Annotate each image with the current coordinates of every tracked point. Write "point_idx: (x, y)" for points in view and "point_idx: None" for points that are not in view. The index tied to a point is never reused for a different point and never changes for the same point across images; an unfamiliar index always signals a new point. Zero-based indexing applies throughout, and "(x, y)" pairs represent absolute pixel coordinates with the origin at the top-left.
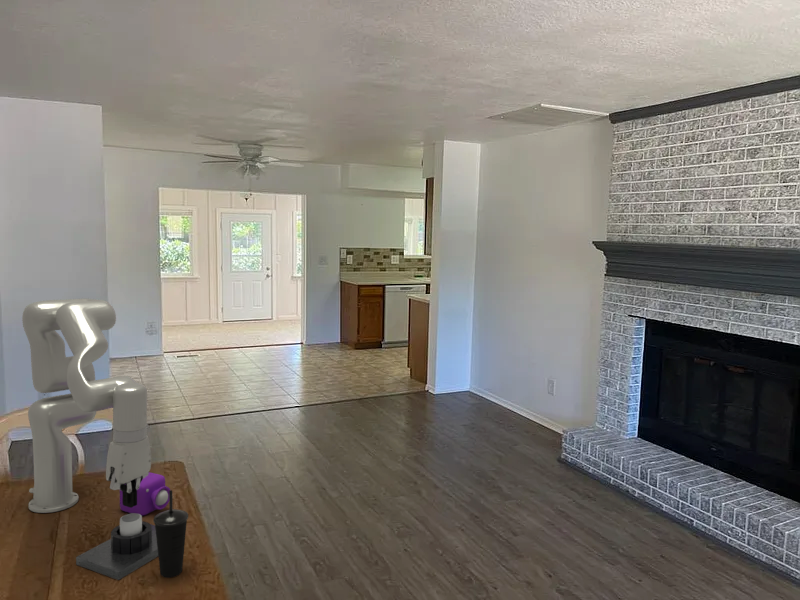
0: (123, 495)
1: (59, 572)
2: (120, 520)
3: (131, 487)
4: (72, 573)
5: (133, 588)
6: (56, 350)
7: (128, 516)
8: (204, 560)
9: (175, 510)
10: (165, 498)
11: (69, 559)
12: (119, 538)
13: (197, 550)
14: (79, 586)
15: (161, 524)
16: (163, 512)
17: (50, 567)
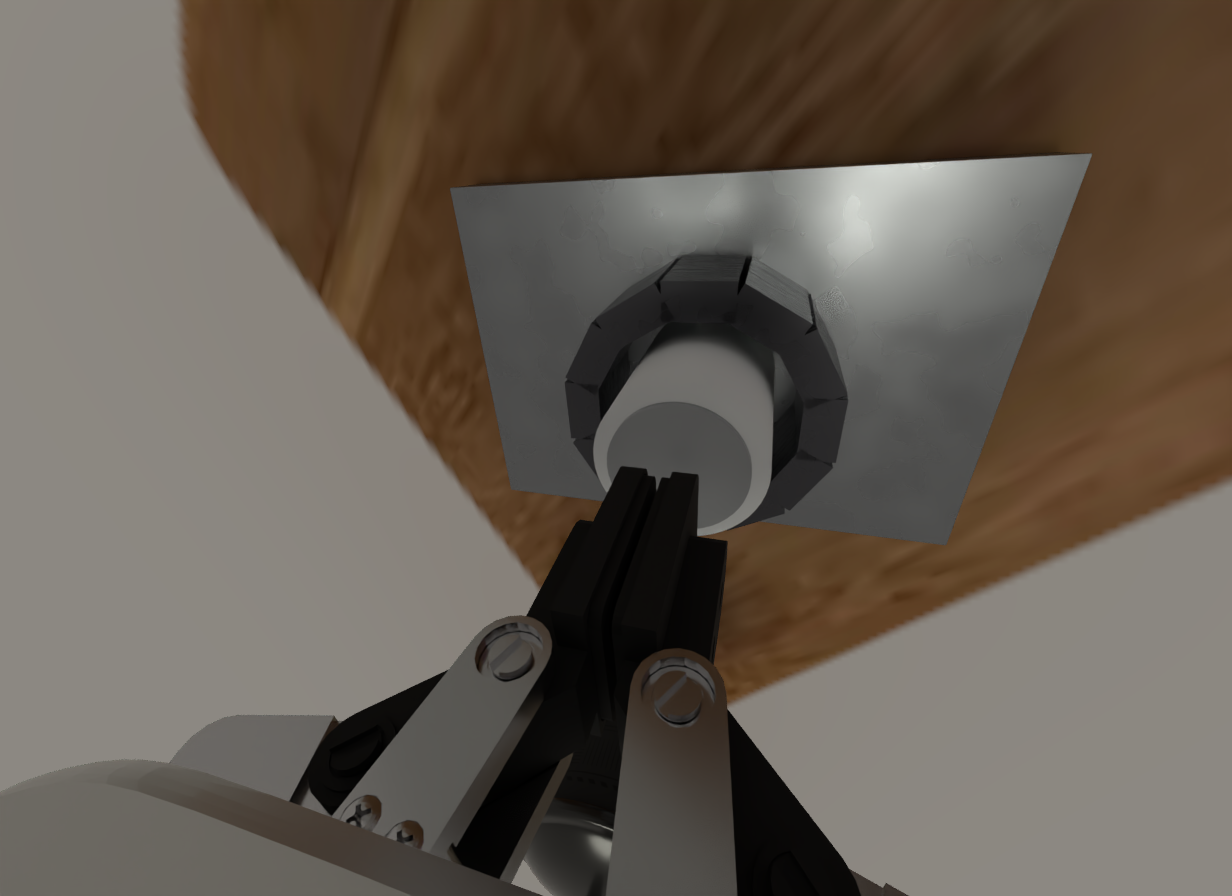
0: (545, 600)
1: (393, 173)
2: (604, 423)
3: (550, 798)
4: (432, 247)
5: (530, 541)
6: None
7: (673, 449)
8: (796, 655)
9: None
10: None
11: (479, 74)
12: (572, 434)
13: (864, 607)
14: (414, 367)
15: None
16: (574, 875)
17: (375, 62)
